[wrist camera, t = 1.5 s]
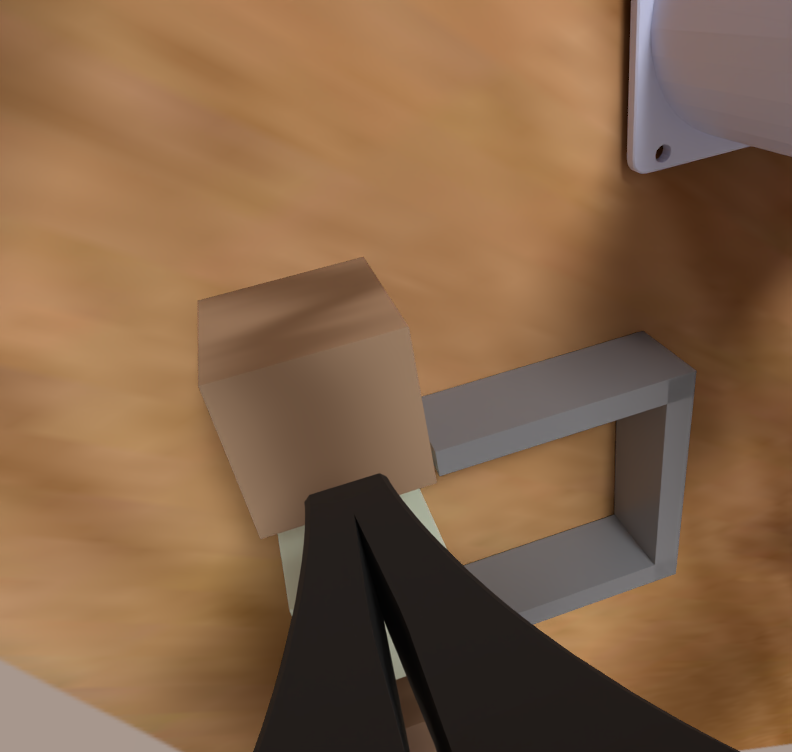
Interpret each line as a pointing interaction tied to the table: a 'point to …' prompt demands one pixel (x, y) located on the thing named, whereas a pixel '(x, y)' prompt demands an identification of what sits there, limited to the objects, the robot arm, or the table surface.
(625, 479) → the corral
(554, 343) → the table surface
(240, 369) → the walnut block
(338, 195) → the table surface
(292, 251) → the table surface
